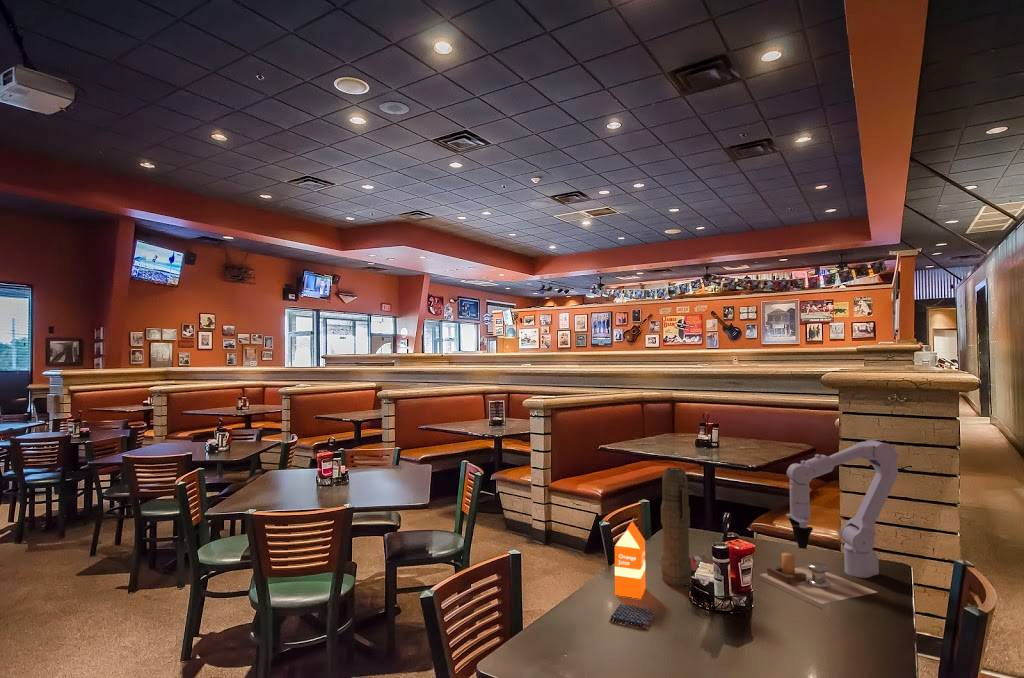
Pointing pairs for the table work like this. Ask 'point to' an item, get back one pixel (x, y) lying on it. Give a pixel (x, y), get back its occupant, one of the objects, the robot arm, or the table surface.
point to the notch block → (788, 579)
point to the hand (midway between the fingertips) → (800, 544)
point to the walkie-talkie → (696, 563)
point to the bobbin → (818, 575)
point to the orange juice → (630, 564)
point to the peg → (788, 563)
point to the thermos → (675, 528)
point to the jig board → (835, 592)
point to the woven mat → (633, 616)
